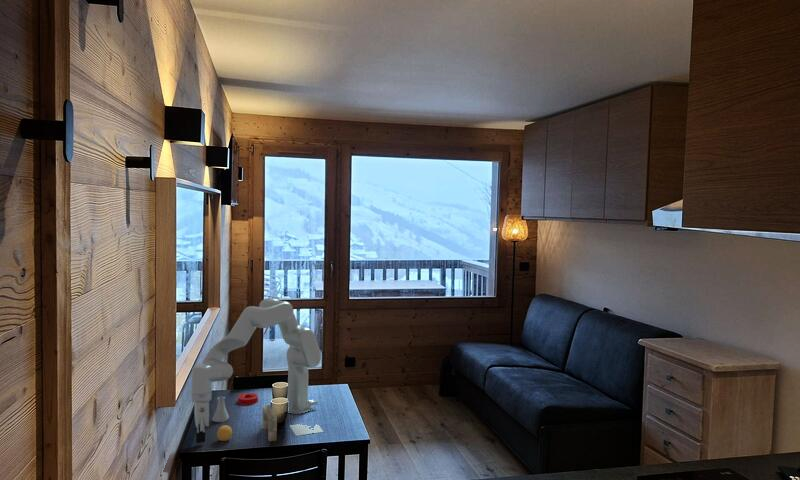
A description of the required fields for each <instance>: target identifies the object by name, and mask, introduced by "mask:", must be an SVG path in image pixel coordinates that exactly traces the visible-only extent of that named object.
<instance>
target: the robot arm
mask: <svg viewBox="0 0 800 480" xmlns="http://www.w3.org/2000/svg"><path fill="white" fill-rule="evenodd" d="M276 325H278V327H279V330H280V333H281V336H282V339H283V341H284V343H285V344H287V345H288V346H289V347H288V348H287V350H286V361H287V371H288V373H287V374H288V377H287V402H288V401H289V411H288V412H289V413H292V414H291V415H301V414H300V413H303V414H306V413H305V412H307V413H308V411H309V410H310V409H312V406H316V405H318V400H314V399H309V369H310V368H311V369H312V368H313V369H314V368H316V367H318V366H319V364H320V363H321V358H322V355H321V350H320V346H319V344H318V340H317V337H316V334H315V333H314V331H313V330H312V329H310V328H308V327H306V326H301V325H300V324H299V322H298V320H297V317H296V314H295V312H294V307H293V305H292V304H291V303H290V302H289V301H285V300H279V299H276V298H271V297H270V298H264V299H262V300H261V301H260V303H259V306H254V305H252V306H251V305H250V306H247V307H245V308H244V310H243V311H242V313H241V314H240V316H238V319H237V320H236V322H235V324H234V325H233V326H232V328H231V330H230V331H229V333H228V335H226V336H225V337H224V338H222V339H221V340H219V341H218V342H216V343H215V345H213V346H212V347H211V348H210V350H209V351H208V353H207V355H206V356H205V357H204V359H203V361H202V363H199V364H196V365H194V366H193V367H192V369H191V392H190V393H191V396H190V397H191V398H190V399H191V400H190V401H191V402H192V403H194V404H193V405H194V409H193V413H194V423H195V428H196V431H195V432H196V434H195V439H196V440H195V441H196V443H197V444H201V443H205V442H206V430H205V429H206V427H209V426H210V401H211V400H212V393H213V392H212V390H213V382H224V381H227V380H229V379H230V378H231V377H232V375H233V373H234V369H233V368H234V367H232V365H231V364H230V363H228V362H226V361H223V358H224V357H225V356H226V355H227V354H228V353H230V352H232V351H234V350H237V349H239V348H242V347H245V346H246V345H248V342H249V341H250V339H251V337H252V335H253V334H254V332H255V331H256V329H257V328H259V329H268V328H271V327H274V326H276ZM308 368H309V369H308ZM310 411H311V410H310ZM310 411H309V412H310ZM289 413H288V414H289Z"/></svg>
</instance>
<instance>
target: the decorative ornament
mask: <svg viewBox="0 0 800 480" xmlns="http://www.w3.org/2000/svg"><path fill="white" fill-rule="evenodd" d="M237 396H238V397H237V404H238V405H243V406H251V405H255V404H257V403H259V395H258V394H257V393H252V392H249V393H248V392H247V393H241V394H239V395H237Z"/></svg>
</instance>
